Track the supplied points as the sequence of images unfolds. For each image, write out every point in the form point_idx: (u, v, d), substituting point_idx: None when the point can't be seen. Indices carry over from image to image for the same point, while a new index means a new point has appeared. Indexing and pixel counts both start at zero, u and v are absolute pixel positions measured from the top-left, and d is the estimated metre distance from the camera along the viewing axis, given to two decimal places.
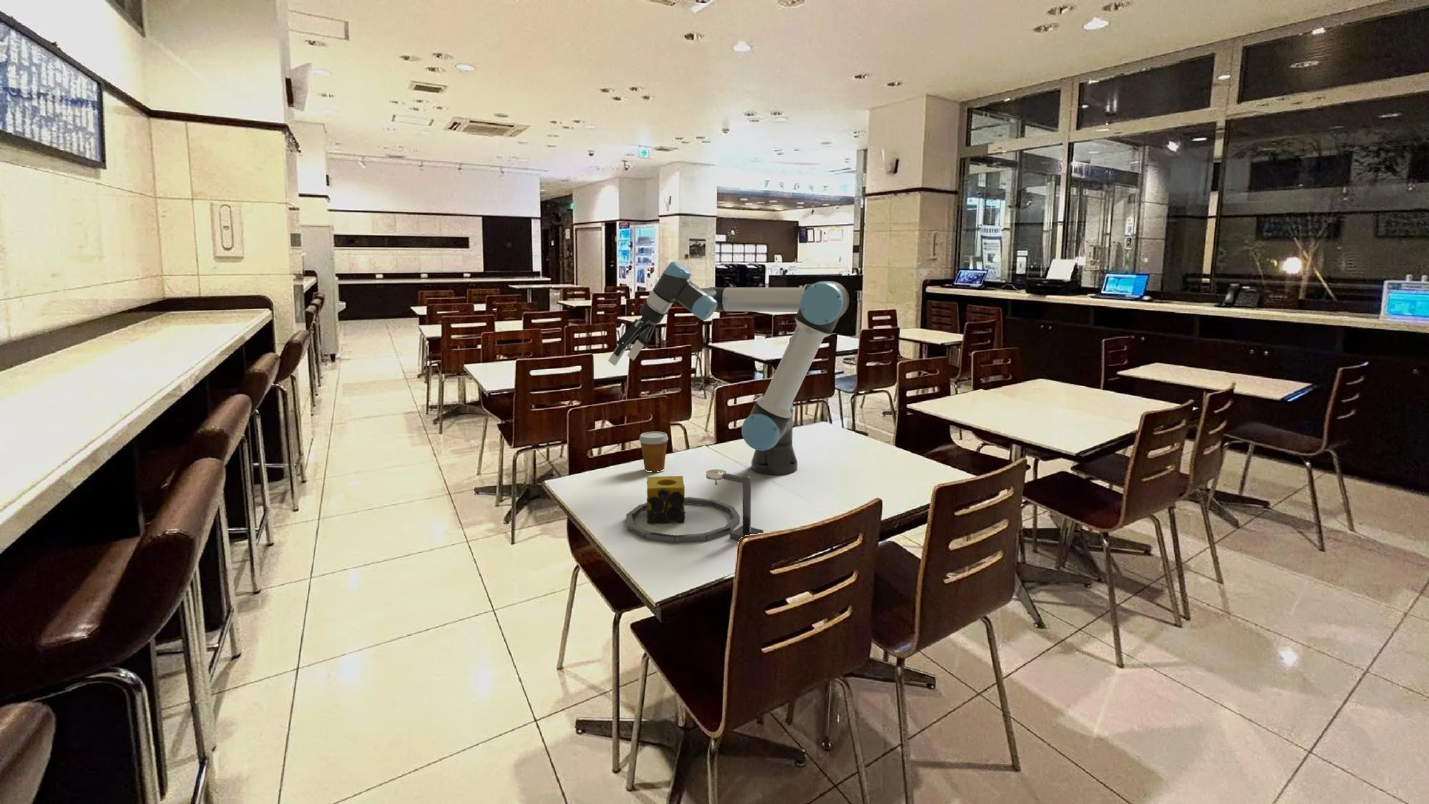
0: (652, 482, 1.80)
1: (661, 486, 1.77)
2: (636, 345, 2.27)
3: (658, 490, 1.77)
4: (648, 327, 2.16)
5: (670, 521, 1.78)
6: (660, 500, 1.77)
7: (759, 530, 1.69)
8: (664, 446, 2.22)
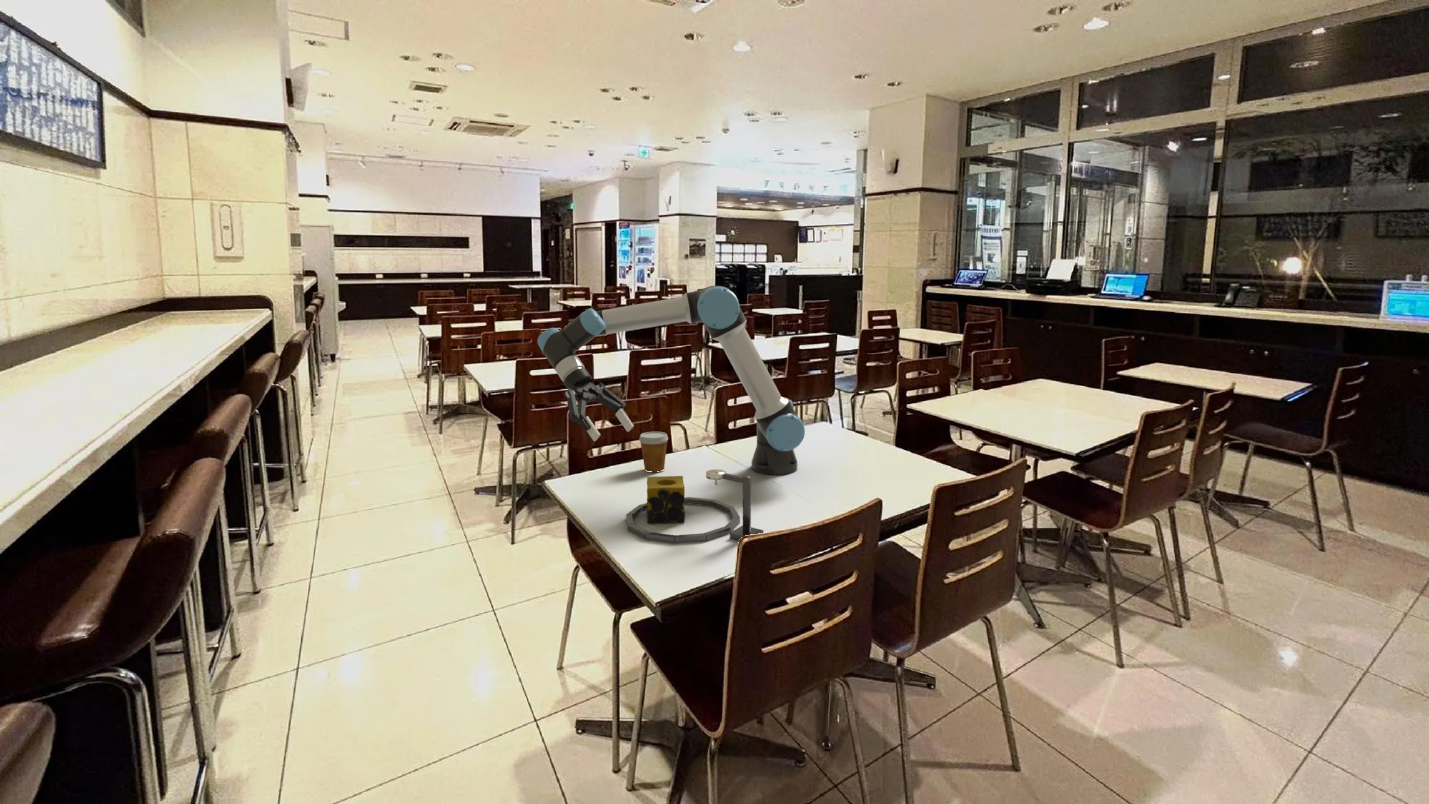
0: (652, 482, 1.80)
1: (661, 486, 1.77)
2: (619, 416, 1.98)
3: (658, 490, 1.77)
4: (586, 388, 1.93)
5: (670, 521, 1.78)
6: (660, 500, 1.77)
7: (759, 530, 1.69)
8: (664, 446, 2.22)
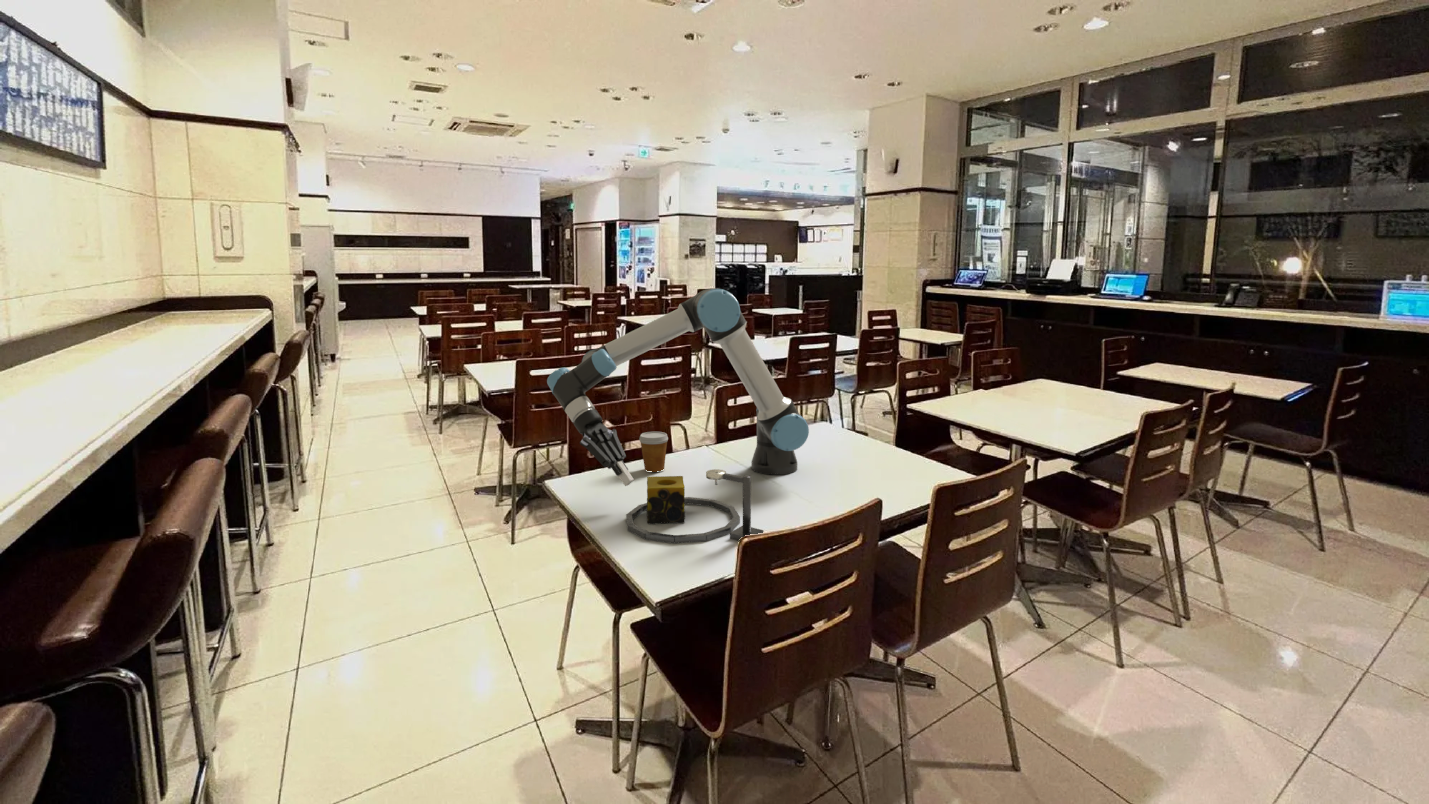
0: (652, 482, 1.80)
1: (661, 486, 1.77)
2: None
3: (658, 490, 1.77)
4: (596, 429, 1.91)
5: (670, 521, 1.78)
6: (660, 500, 1.77)
7: (759, 530, 1.69)
8: (664, 446, 2.22)
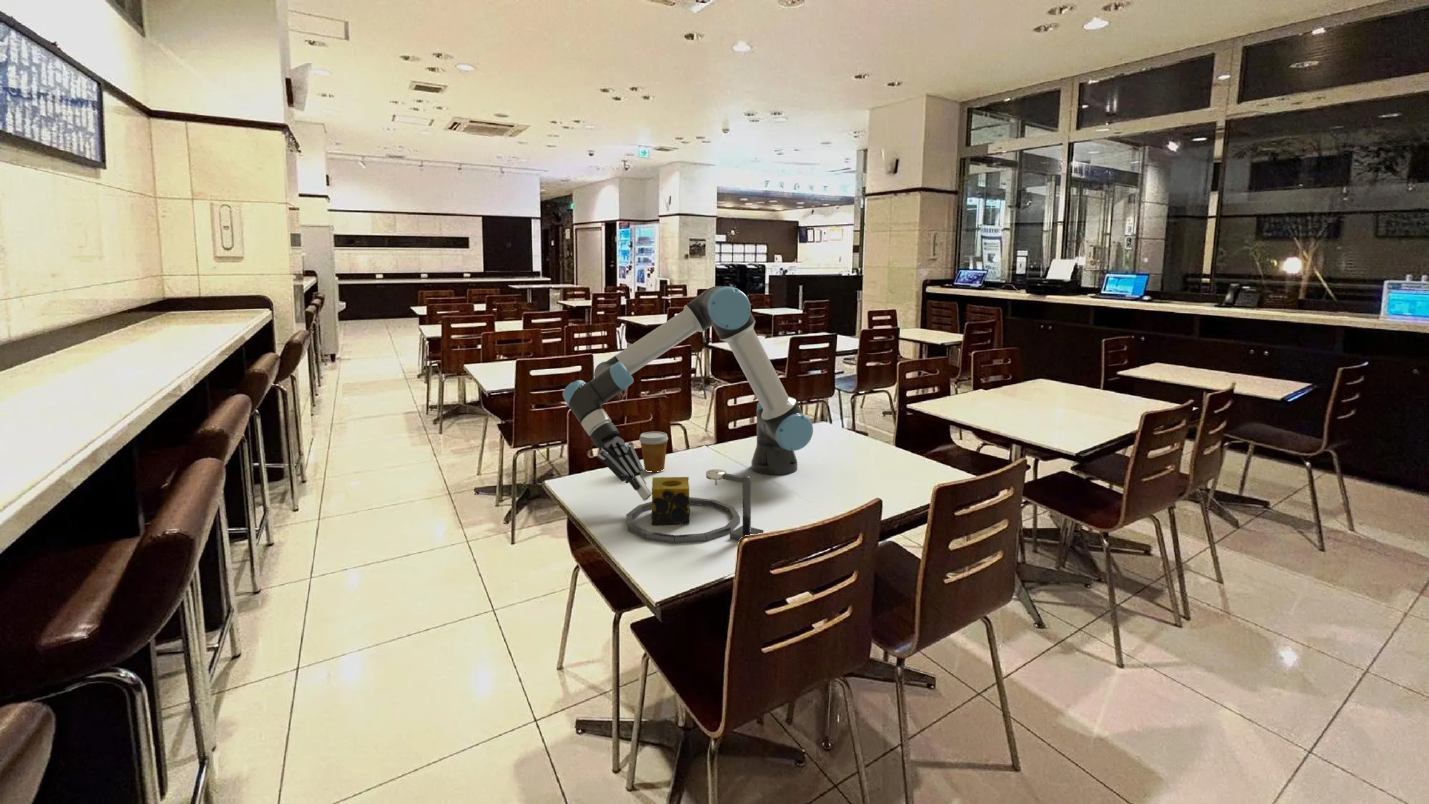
0: (657, 483, 1.79)
1: (666, 487, 1.76)
2: None
3: (662, 491, 1.76)
4: (613, 443, 1.88)
5: (675, 522, 1.77)
6: (665, 501, 1.76)
7: (759, 530, 1.69)
8: (664, 446, 2.22)
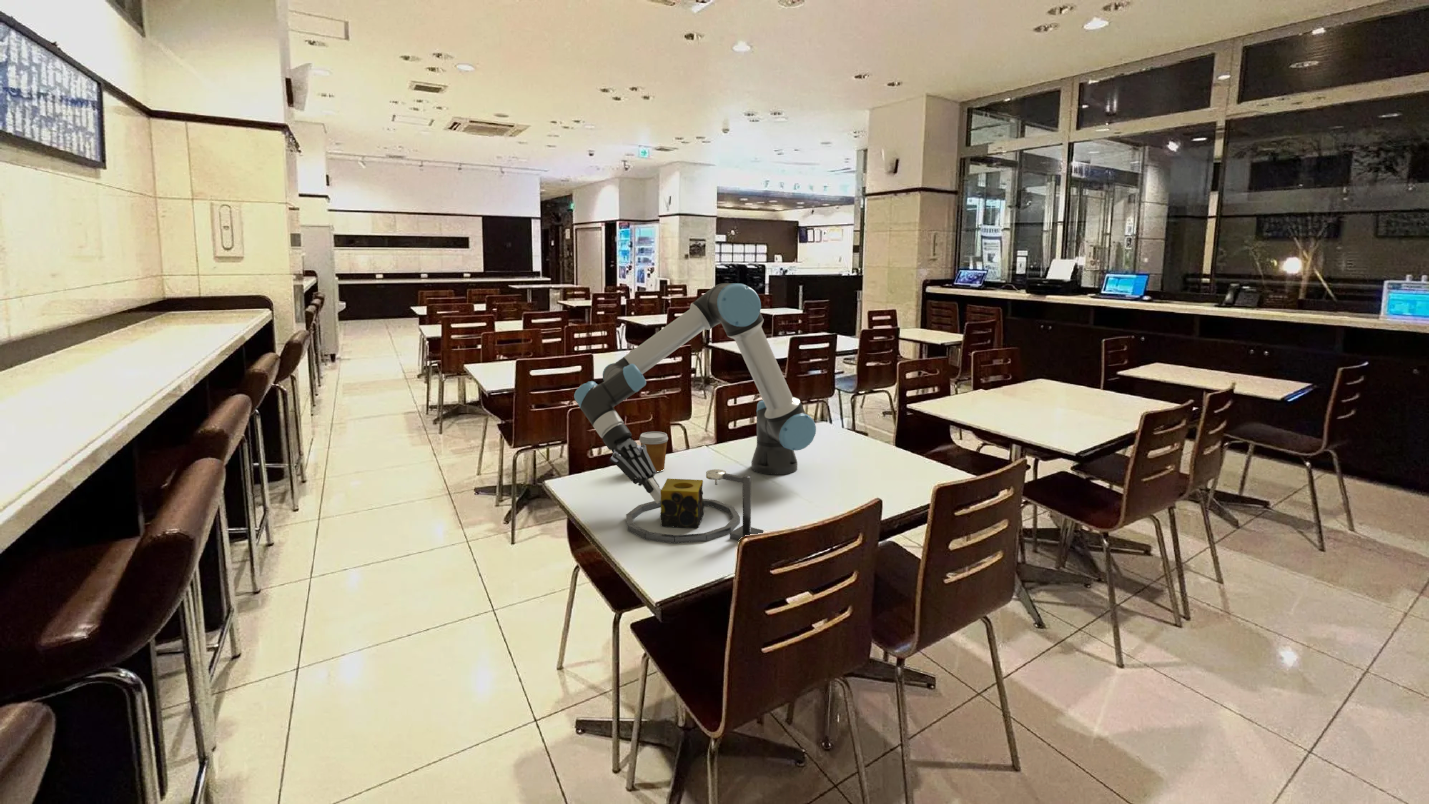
0: (668, 485, 1.78)
1: (675, 489, 1.75)
2: None
3: (671, 493, 1.74)
4: (626, 445, 1.85)
5: (683, 525, 1.75)
6: (673, 503, 1.74)
7: (759, 530, 1.69)
8: (664, 446, 2.22)
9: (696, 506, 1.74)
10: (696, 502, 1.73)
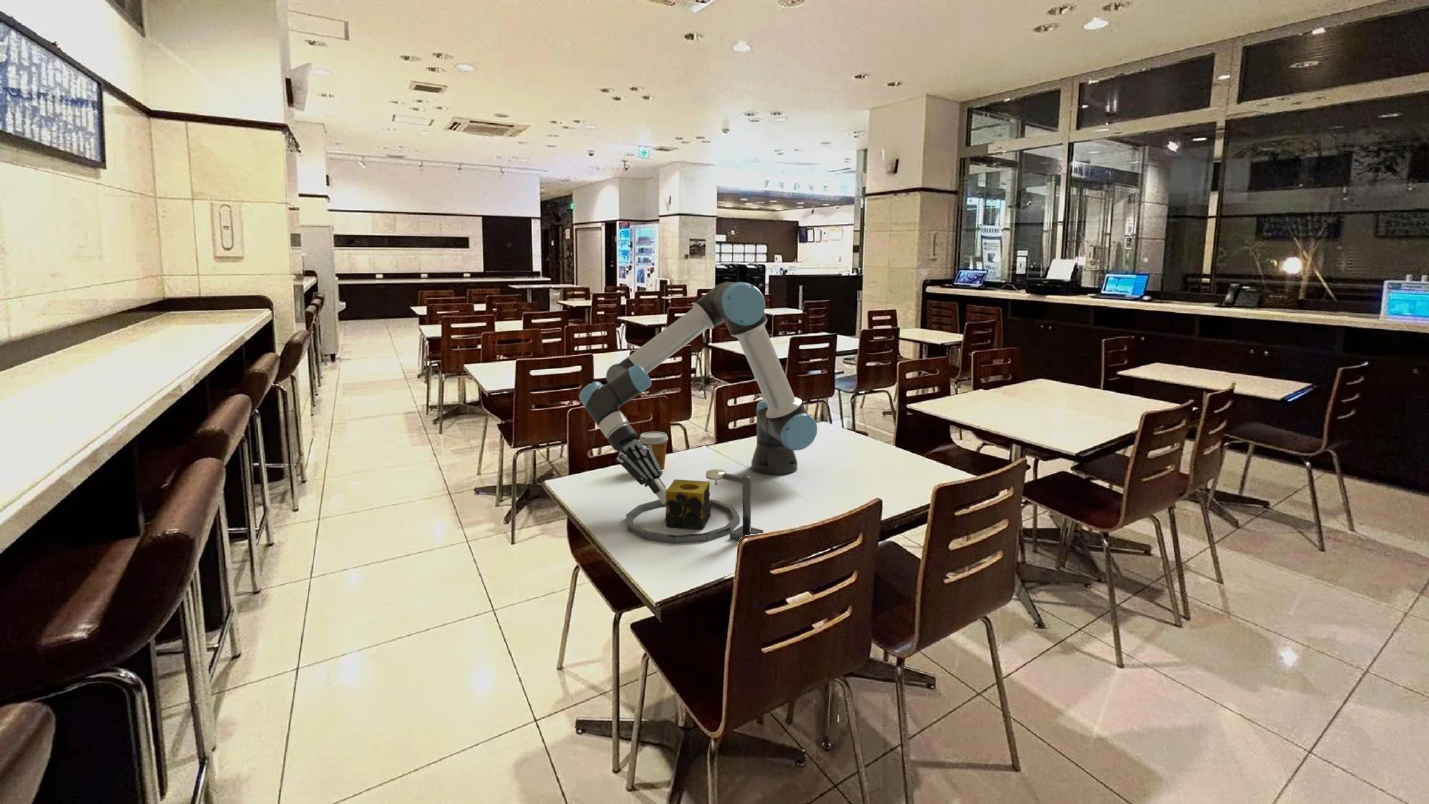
0: (674, 486, 1.78)
1: (680, 490, 1.74)
2: None
3: (676, 494, 1.73)
4: (632, 446, 1.84)
5: (688, 527, 1.74)
6: (678, 504, 1.74)
7: (759, 530, 1.69)
8: (664, 446, 2.22)
9: (701, 508, 1.73)
10: (701, 504, 1.72)
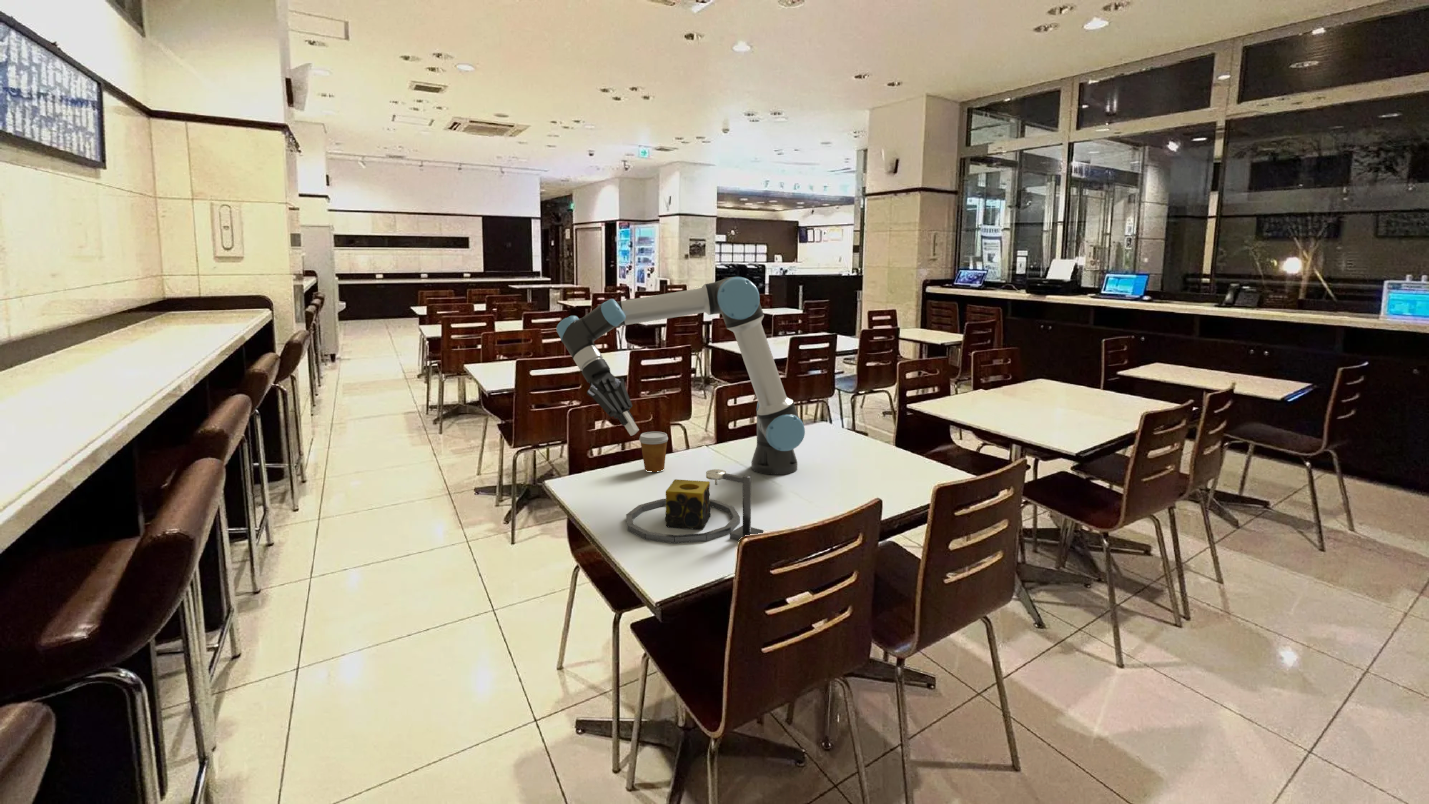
0: (674, 486, 1.78)
1: (680, 490, 1.74)
2: None
3: (676, 494, 1.73)
4: (603, 379, 1.94)
5: (688, 527, 1.74)
6: (678, 504, 1.74)
7: (759, 530, 1.69)
8: (664, 446, 2.22)
9: (701, 508, 1.73)
10: (701, 504, 1.72)
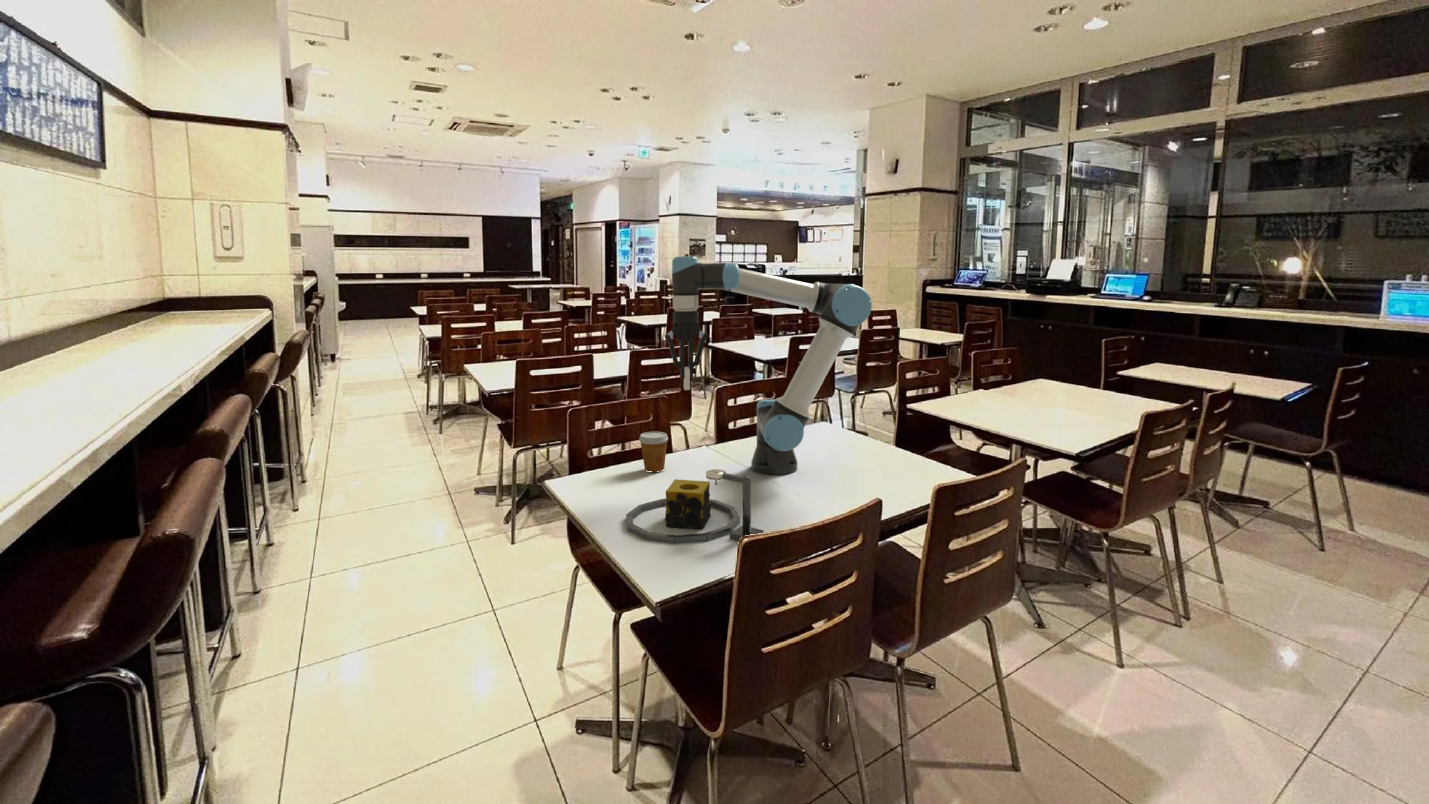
0: (674, 486, 1.78)
1: (680, 490, 1.74)
2: None
3: (676, 494, 1.73)
4: (682, 332, 2.01)
5: (688, 527, 1.74)
6: (678, 504, 1.74)
7: (759, 530, 1.69)
8: (664, 446, 2.22)
9: (701, 508, 1.73)
10: (701, 504, 1.72)
